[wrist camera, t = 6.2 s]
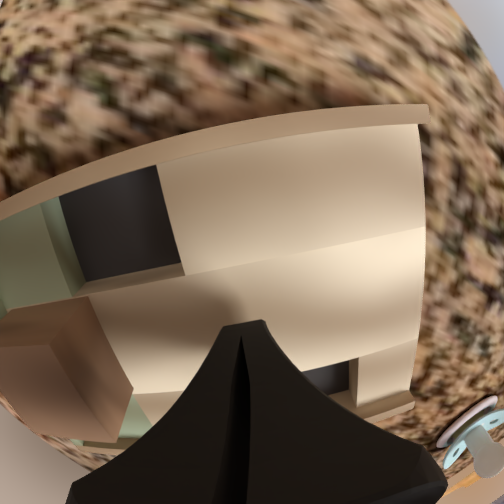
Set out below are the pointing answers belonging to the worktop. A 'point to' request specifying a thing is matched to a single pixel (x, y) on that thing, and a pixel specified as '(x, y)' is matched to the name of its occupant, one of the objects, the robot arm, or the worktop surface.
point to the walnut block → (63, 371)
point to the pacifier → (476, 438)
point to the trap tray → (239, 252)
